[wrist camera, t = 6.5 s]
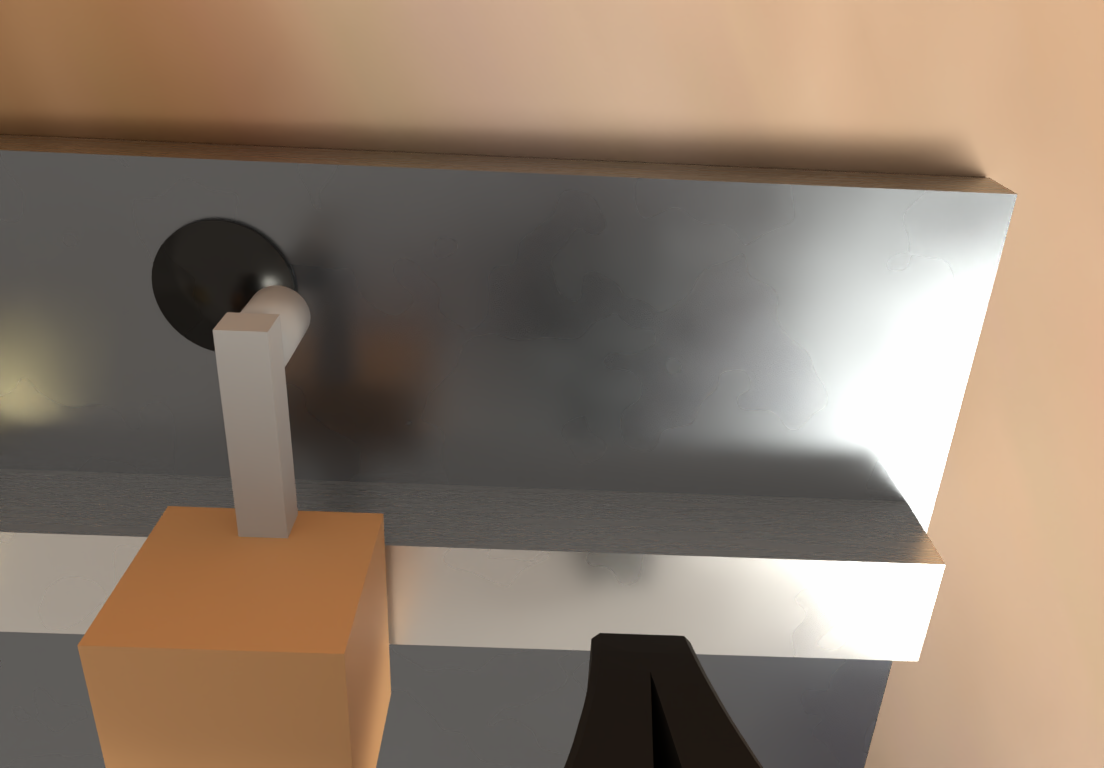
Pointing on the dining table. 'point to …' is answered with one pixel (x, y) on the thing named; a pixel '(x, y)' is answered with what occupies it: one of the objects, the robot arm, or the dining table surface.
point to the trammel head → (247, 600)
